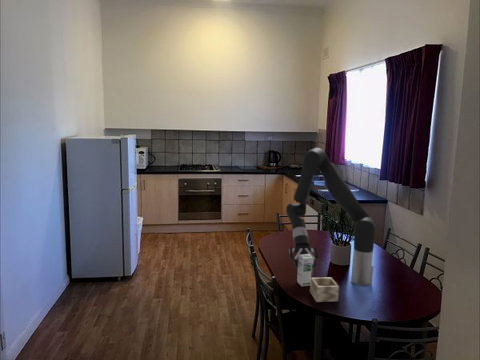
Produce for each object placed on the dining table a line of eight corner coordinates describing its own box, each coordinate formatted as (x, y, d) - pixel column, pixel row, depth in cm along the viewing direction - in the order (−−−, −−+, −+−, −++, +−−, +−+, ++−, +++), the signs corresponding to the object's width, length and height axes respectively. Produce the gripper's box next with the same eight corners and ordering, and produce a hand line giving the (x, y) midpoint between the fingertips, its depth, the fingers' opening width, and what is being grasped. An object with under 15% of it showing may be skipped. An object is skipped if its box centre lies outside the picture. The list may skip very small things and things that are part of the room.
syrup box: (301, 286, 188) (303, 258, 185) (296, 281, 193) (298, 253, 191) (312, 285, 189) (314, 257, 187) (307, 280, 195) (308, 253, 192)
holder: (330, 291, 184) (331, 277, 182) (338, 301, 174) (339, 286, 173) (309, 291, 182) (310, 277, 181) (316, 301, 172) (317, 287, 171)
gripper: (288, 234, 195) (293, 264, 185) (316, 234, 197) (321, 264, 187) (285, 241, 201) (289, 270, 192) (312, 241, 203) (317, 270, 193)
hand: (305, 267), depth 189 cm, fingers open, 8 cm apart
